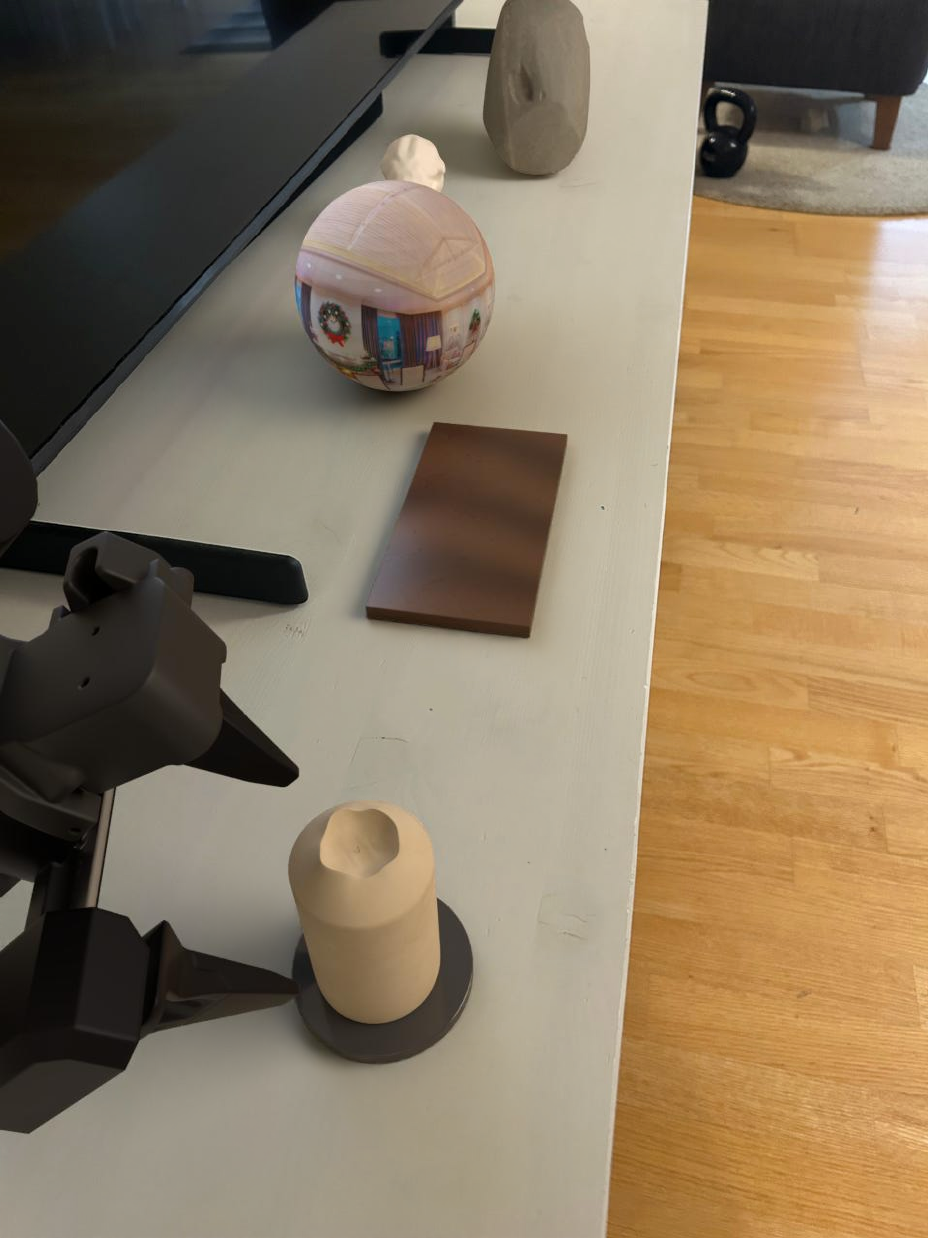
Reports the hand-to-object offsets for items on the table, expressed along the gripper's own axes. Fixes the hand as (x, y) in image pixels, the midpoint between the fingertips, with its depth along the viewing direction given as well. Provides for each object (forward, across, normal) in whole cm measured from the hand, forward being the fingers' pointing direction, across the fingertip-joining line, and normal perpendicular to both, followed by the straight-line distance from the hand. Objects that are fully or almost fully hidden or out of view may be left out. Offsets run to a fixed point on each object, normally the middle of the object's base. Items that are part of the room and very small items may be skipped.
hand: (293, 877), depth 37 cm
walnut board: (+14, +30, -2) cm, 34 cm away
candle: (+8, 0, +4) cm, 8 cm away
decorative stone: (+25, +96, -12) cm, 100 cm away
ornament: (+12, +50, +1) cm, 51 cm away
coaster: (+8, 0, +4) cm, 9 cm away
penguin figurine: (+14, +75, -1) cm, 76 cm away
